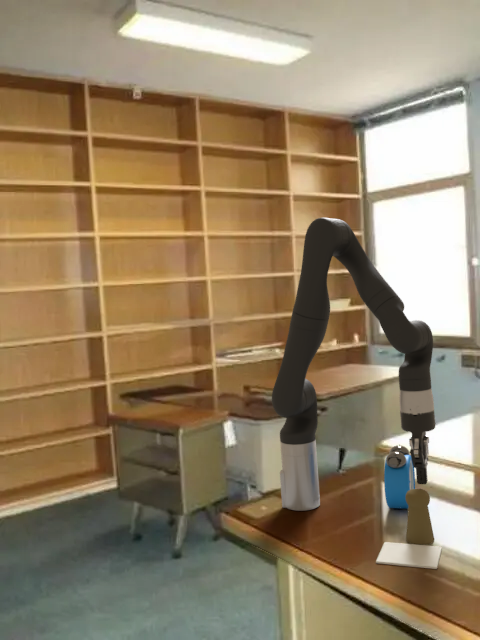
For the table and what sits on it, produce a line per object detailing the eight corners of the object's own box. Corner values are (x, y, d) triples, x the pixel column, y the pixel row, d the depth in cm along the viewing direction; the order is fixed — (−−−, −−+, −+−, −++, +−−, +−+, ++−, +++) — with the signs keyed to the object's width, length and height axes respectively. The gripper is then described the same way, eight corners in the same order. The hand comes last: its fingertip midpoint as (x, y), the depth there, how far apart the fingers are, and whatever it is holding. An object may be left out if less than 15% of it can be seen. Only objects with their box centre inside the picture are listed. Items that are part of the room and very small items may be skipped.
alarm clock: (411, 517, 156) (407, 456, 156) (385, 516, 159) (381, 455, 158) (416, 499, 169) (413, 442, 168) (392, 498, 171) (388, 441, 170)
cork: (430, 546, 139) (426, 496, 139) (402, 542, 142) (399, 493, 142) (437, 536, 144) (434, 487, 144) (410, 532, 148) (407, 484, 147)
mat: (376, 563, 133) (376, 561, 133) (384, 543, 142) (384, 541, 142) (436, 569, 129) (436, 567, 129) (441, 548, 138) (441, 546, 138)
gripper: (404, 403, 156) (409, 474, 157) (395, 414, 144) (401, 491, 145) (437, 402, 153) (442, 475, 154) (430, 414, 141) (436, 493, 142)
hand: (422, 483), depth 149 cm, fingers closed
